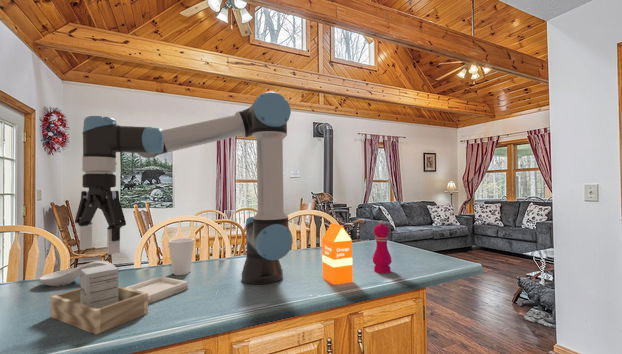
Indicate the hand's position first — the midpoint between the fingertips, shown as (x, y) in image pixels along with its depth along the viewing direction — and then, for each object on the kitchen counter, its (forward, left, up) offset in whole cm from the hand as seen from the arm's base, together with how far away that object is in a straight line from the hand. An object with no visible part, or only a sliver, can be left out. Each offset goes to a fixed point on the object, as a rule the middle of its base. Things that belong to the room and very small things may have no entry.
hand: (99, 251), depth 82 cm
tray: (+2, -18, -17) cm, 25 cm away
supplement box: (0, 0, -18) cm, 18 cm away
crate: (0, 0, -17) cm, 17 cm away
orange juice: (-47, -55, -18) cm, 75 cm away
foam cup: (+13, -37, -18) cm, 43 cm away
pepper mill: (-59, -72, -18) cm, 95 cm away
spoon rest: (+38, -13, -18) cm, 44 cm away
